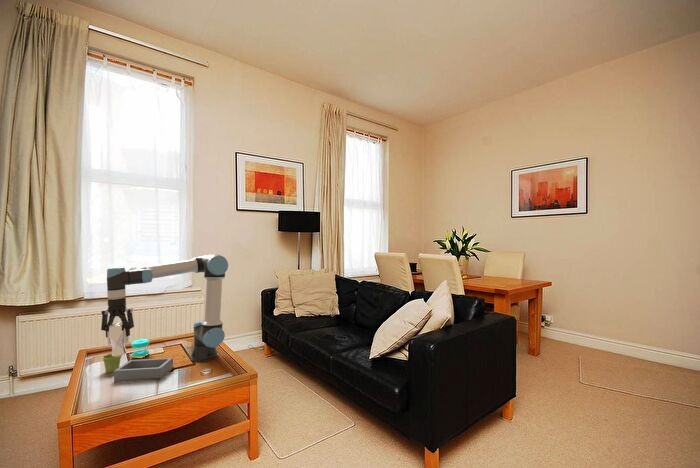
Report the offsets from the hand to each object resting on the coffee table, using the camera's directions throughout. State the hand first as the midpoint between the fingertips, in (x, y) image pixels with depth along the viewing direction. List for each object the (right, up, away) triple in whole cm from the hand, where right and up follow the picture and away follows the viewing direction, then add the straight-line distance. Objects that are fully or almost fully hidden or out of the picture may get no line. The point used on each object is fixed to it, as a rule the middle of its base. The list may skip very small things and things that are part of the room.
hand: (118, 343), depth 167 cm
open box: (+4, -22, +15) cm, 27 cm away
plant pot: (-18, -23, +21) cm, 37 cm away
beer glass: (+1, -6, 0) cm, 6 cm away
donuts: (-17, -23, +44) cm, 52 cm away
